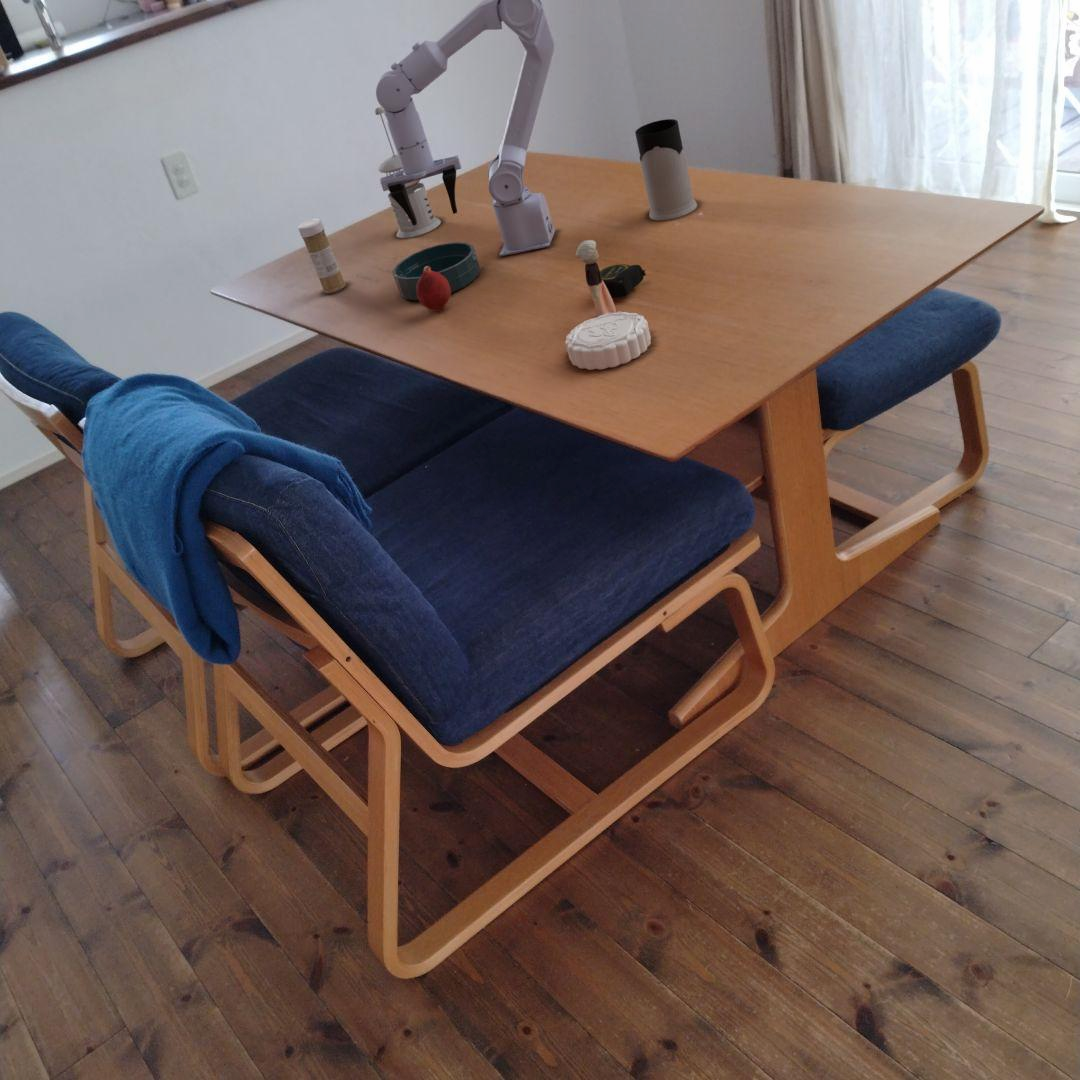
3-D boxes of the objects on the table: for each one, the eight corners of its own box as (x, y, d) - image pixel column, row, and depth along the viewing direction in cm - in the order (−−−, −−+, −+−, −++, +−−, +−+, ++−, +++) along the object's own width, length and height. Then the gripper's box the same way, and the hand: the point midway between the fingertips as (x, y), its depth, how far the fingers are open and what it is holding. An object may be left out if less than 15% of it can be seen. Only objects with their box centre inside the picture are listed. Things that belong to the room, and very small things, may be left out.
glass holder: (646, 223, 197) (628, 140, 189) (656, 195, 208) (639, 115, 200) (694, 214, 194) (678, 129, 186) (702, 186, 205) (687, 105, 197)
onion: (451, 315, 186) (436, 271, 181) (420, 321, 187) (404, 277, 183) (460, 300, 190) (445, 257, 186) (429, 306, 192) (414, 263, 187)
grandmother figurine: (624, 324, 164) (604, 243, 157) (599, 332, 164) (579, 252, 157) (610, 307, 171) (591, 229, 164) (587, 315, 171) (567, 237, 164)
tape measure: (627, 303, 170) (622, 281, 168) (590, 303, 174) (584, 281, 172) (648, 283, 174) (643, 261, 172) (611, 283, 178) (606, 262, 176)
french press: (407, 241, 225) (365, 118, 212) (385, 232, 235) (344, 113, 221) (448, 222, 228) (409, 100, 215) (425, 214, 237) (387, 96, 224)
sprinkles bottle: (342, 281, 215) (316, 215, 208) (349, 287, 212) (323, 220, 204) (320, 291, 214) (294, 225, 207) (327, 296, 210) (300, 229, 203)
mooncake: (573, 379, 154) (566, 356, 152) (567, 344, 164) (561, 322, 162) (656, 356, 153) (651, 333, 151) (646, 323, 163) (640, 300, 161)
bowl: (488, 258, 204) (481, 235, 201) (471, 292, 192) (463, 268, 189) (412, 274, 208) (404, 251, 206) (391, 308, 196) (383, 285, 193)
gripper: (370, 161, 191) (396, 235, 198) (450, 137, 190) (473, 213, 197) (372, 150, 197) (397, 223, 204) (450, 127, 196) (472, 201, 203)
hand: (435, 217), depth 201 cm, fingers open, 7 cm apart
